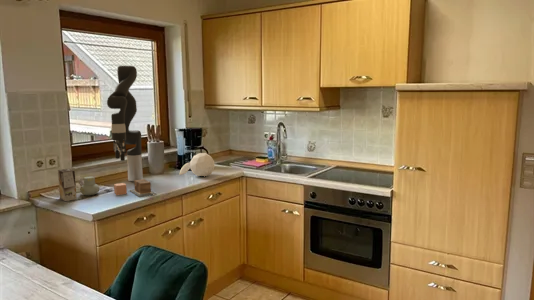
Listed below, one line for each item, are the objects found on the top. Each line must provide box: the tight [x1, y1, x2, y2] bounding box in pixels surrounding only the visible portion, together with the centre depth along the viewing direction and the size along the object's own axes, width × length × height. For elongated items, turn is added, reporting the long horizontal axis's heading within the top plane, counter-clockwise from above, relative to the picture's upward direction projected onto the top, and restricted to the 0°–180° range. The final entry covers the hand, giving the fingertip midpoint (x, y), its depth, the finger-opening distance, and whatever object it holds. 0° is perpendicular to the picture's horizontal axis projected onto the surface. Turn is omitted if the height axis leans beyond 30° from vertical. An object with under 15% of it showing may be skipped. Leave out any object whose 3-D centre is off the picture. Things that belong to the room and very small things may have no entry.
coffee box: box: [57, 168, 77, 202], centre depth 222 cm, size 9×6×16 cm
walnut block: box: [133, 178, 152, 194], centre depth 236 cm, size 10×6×6 cm, turn 37°
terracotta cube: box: [113, 182, 128, 196], centre depth 235 cm, size 6×6×6 cm
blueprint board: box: [129, 188, 157, 198], centre depth 236 cm, size 17×10×1 cm, turn 35°
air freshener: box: [79, 176, 100, 196], centre depth 232 cm, size 11×8×10 cm
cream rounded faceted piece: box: [178, 152, 215, 178], centre depth 283 cm, size 16×22×28 cm
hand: (120, 159), depth 232 cm, fingers open, 8 cm apart
